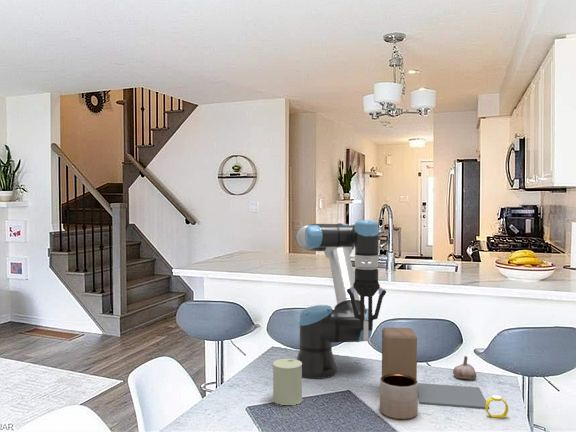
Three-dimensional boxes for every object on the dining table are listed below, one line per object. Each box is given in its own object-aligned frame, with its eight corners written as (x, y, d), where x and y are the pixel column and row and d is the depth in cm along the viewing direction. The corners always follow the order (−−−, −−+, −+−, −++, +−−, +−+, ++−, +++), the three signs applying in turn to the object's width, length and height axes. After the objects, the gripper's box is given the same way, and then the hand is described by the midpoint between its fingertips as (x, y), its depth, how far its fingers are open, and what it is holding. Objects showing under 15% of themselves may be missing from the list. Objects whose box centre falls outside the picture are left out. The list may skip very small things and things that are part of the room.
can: (306, 396, 155) (306, 358, 154) (297, 407, 146) (297, 368, 145) (278, 392, 158) (278, 355, 157) (268, 403, 149) (268, 364, 149)
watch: (487, 419, 139) (486, 398, 139) (484, 415, 142) (483, 395, 141) (509, 419, 138) (508, 398, 138) (506, 414, 141) (505, 394, 141)
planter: (394, 423, 136) (394, 389, 135) (372, 408, 146) (372, 376, 145) (425, 416, 140) (425, 383, 140) (402, 402, 150) (402, 371, 150)
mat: (419, 403, 149) (419, 401, 149) (416, 384, 165) (416, 382, 165) (489, 409, 145) (489, 407, 145) (479, 389, 161) (479, 387, 161)
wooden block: (412, 387, 162) (412, 327, 162) (416, 399, 152) (417, 335, 152) (381, 386, 163) (381, 326, 163) (384, 397, 153) (384, 334, 153)
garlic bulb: (480, 380, 169) (480, 357, 169) (464, 383, 166) (464, 360, 166) (464, 373, 176) (465, 351, 176) (448, 376, 173) (448, 353, 173)
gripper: (345, 268, 156) (345, 342, 157) (387, 270, 154) (386, 344, 154) (347, 265, 164) (346, 335, 164) (386, 267, 161) (386, 338, 162)
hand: (366, 340), depth 159 cm, fingers closed
